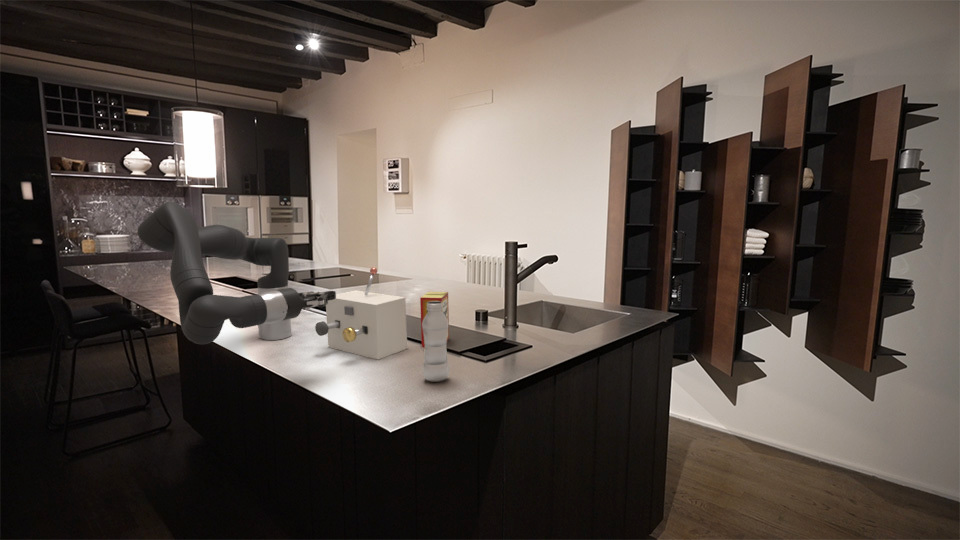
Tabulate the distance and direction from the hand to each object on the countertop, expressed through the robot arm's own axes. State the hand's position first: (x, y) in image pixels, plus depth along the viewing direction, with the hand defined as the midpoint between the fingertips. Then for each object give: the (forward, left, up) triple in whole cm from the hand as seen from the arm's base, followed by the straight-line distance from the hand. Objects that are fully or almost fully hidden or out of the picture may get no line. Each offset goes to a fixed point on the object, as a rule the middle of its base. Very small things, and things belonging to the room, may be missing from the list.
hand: (334, 294), depth 129 cm
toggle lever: (+2, +17, -4) cm, 18 cm away
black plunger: (-7, +12, -14) cm, 20 cm away
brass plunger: (+3, +7, -14) cm, 16 cm away
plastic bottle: (+29, -7, -20) cm, 36 cm away
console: (+2, +17, -20) cm, 27 cm away
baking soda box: (+22, +24, -20) cm, 39 cm away
